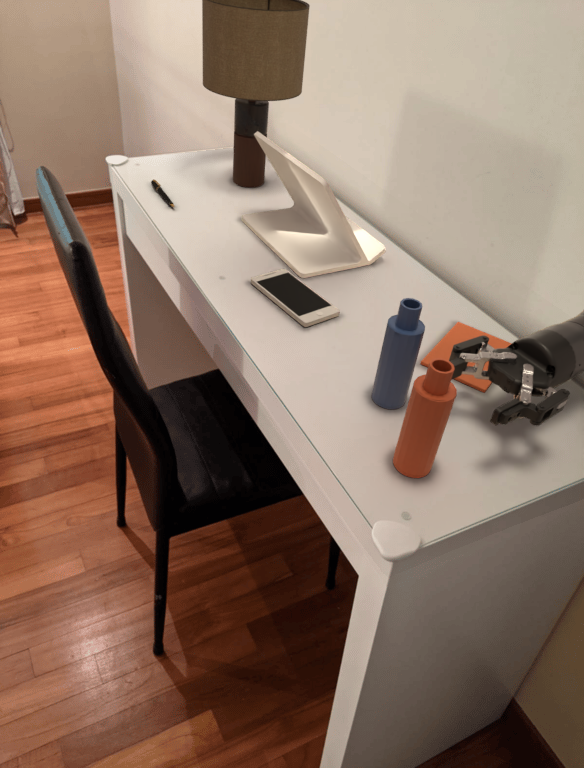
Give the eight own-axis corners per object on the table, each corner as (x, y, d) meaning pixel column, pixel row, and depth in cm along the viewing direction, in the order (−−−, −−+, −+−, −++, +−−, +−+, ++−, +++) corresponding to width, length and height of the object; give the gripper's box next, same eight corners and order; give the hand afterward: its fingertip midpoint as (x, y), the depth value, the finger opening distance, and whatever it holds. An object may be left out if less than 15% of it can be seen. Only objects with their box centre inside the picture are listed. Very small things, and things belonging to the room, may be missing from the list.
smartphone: (304, 327, 94) (305, 322, 93) (249, 282, 103) (249, 277, 102) (340, 315, 97) (341, 310, 97) (283, 272, 106) (284, 267, 106)
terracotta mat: (516, 348, 95) (517, 345, 94) (484, 393, 85) (485, 390, 85) (457, 324, 99) (458, 321, 98) (420, 363, 89) (420, 361, 89)
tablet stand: (301, 278, 105) (312, 182, 95) (239, 219, 122) (242, 131, 111) (386, 261, 113) (404, 170, 102) (317, 207, 129) (326, 124, 119)
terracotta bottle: (437, 461, 74) (470, 364, 65) (420, 484, 71) (453, 385, 62) (403, 444, 76) (431, 347, 66) (386, 465, 73) (412, 366, 63)
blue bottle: (410, 396, 83) (436, 303, 74) (395, 414, 80) (420, 318, 71) (381, 382, 85) (403, 289, 76) (365, 399, 82) (385, 304, 73)
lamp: (195, 166, 141) (193, -12, 119) (278, 164, 147) (291, -7, 125) (213, 202, 127) (214, 7, 105) (304, 198, 133) (324, 12, 110)
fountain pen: (177, 210, 122) (177, 203, 121) (171, 211, 122) (171, 203, 121) (154, 183, 132) (154, 176, 131) (149, 184, 131) (148, 177, 130)
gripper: (516, 305, 81) (431, 339, 74) (611, 363, 73) (525, 407, 65) (499, 351, 86) (417, 386, 78) (586, 410, 78) (504, 456, 70)
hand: (466, 396), depth 72 cm, fingers open, 8 cm apart
